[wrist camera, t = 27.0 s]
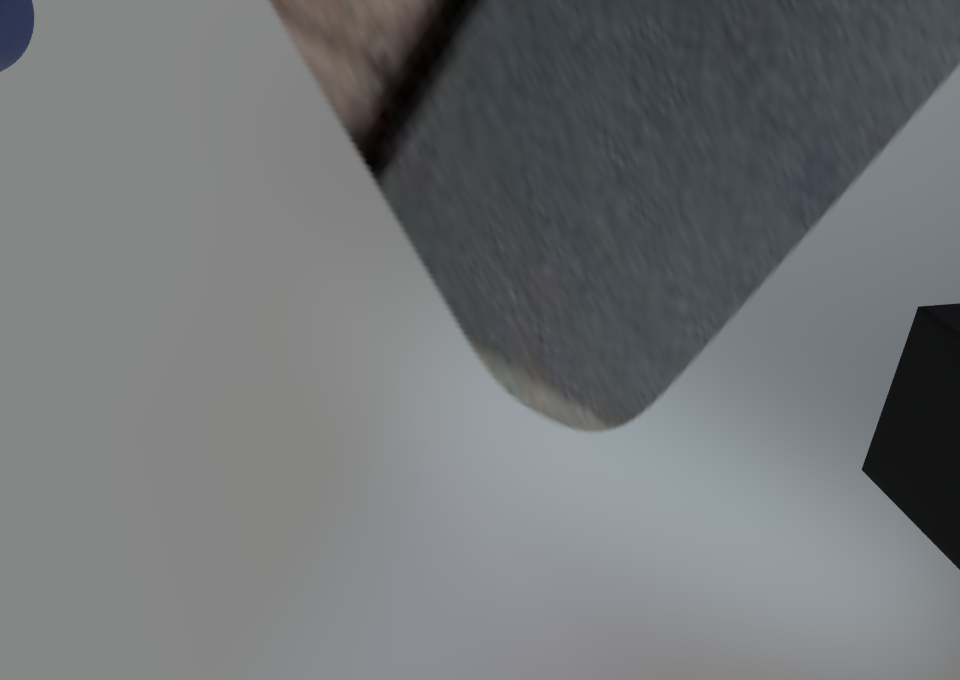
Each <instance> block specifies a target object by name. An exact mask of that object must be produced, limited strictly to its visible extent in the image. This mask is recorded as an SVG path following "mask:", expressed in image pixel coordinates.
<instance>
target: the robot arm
mask: <svg viewBox="0 0 960 680" xmlns="http://www.w3.org/2000/svg"><path fill="white" fill-rule="evenodd" d="M862 470H863V472H865V474H866V475H867V476H868V477H870V479H871V480H872V481H873V482H874V483H875V484H876V485H877V486H878V487H879V488H880V489H881V490H882V491H883V492H884V493H885V494H886V495H887V496H888V497H889V498H890V499H891V500H892V501H893V502H894V503H895V504H896V505H897V506H898V507H899V508H900V509H901V510H902V511H903V512H904V513H905V514H906V515H907V516H908V517H909V518H910V519H911V521H913V522H914V524H916V526H917V527H918V528H919V529H920V530H921V531H922V532H923V533H924V534H925V535H926V536H927V537H928V538H929V539H930V540H931V541H932V542H933V543H934V544H935V545H936V546H937V547H938V548H939V549H940V550H941V551H942V552H943V553H944V554H945V555H946V556H947V557H948V558H949V559H950V560H951V561H952V562H953V563H954V564H955V565H956V566H957V567H958V568H959V569H960V304H948V305H935V306H923V307H918V309H917V312H916V315H915V318H914V321H913V324H912V327H911V330H910V332H909V335H908V339H907V341H906V344H905V347H904V350H903V353H902V356H901V358H900V361H899V364H898V367H897V370H896V373H895V376H894V378H893V381H892V384H891V387H890V390H889V393H888V396H887V399H886V401H885V404H884V407H883V410H882V413H881V416H880V419H879V422H878V424H877V428H876V430H875V433H874V436H873V439H872V442H871V444H870V447H869V450H868V453H867V456H866V459H865V462H864V465H863V467H862Z"/></svg>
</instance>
